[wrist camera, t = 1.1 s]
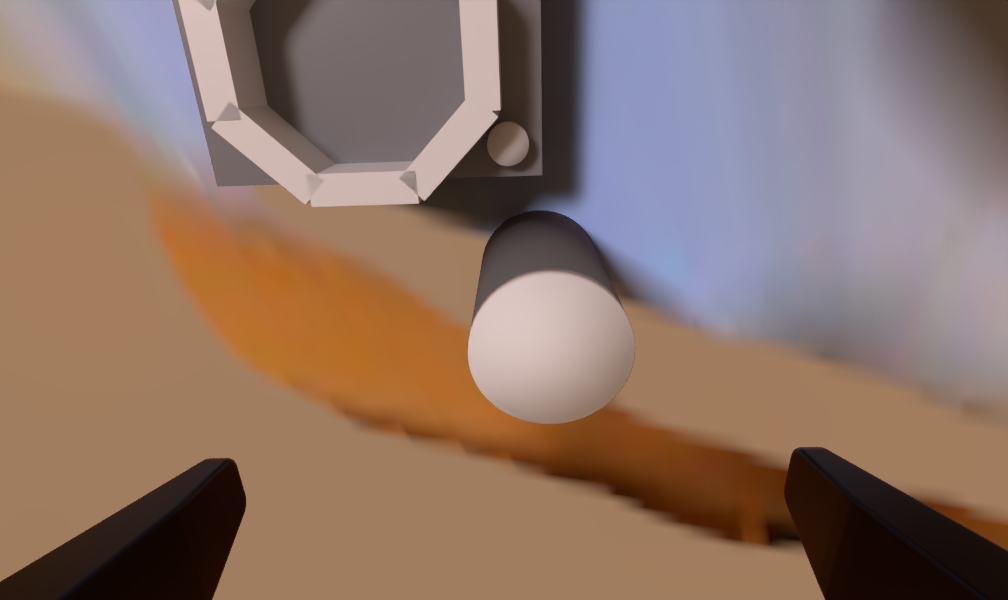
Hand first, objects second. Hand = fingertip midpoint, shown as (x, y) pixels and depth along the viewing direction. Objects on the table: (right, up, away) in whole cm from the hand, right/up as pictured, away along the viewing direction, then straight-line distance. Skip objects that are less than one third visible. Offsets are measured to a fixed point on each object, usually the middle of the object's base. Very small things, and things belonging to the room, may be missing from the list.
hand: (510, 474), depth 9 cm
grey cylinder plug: (+1, +4, +12) cm, 13 cm away
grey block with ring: (-4, +11, +9) cm, 15 cm away
